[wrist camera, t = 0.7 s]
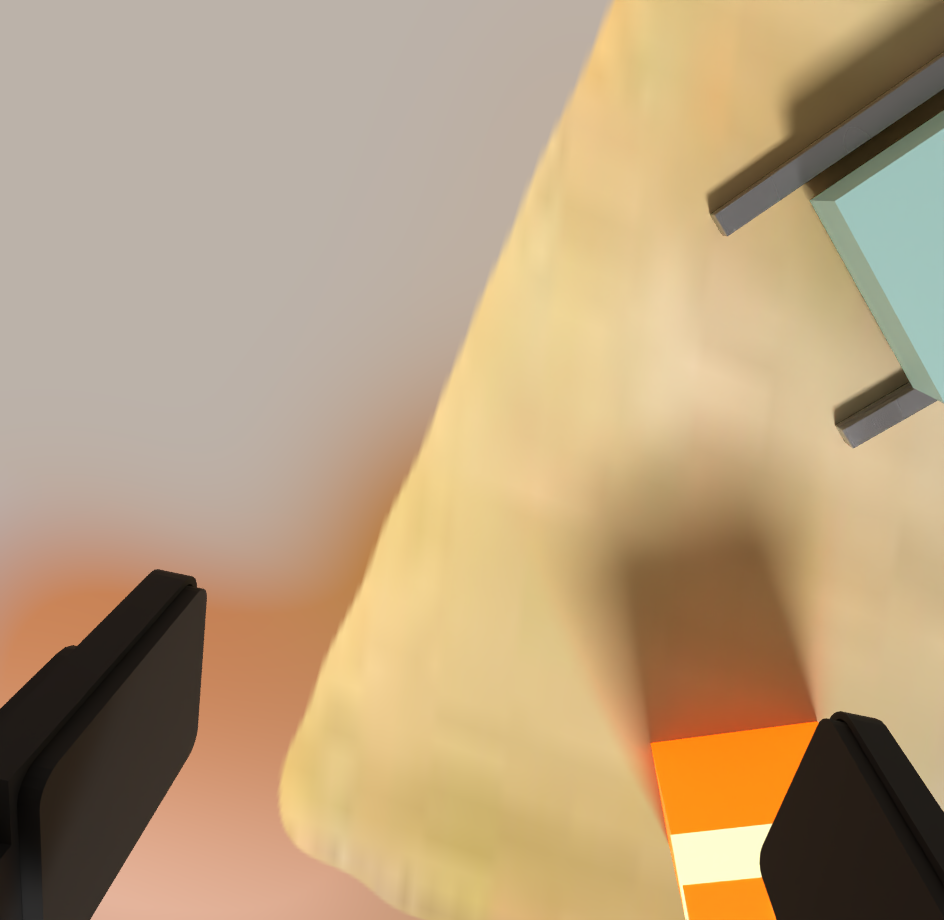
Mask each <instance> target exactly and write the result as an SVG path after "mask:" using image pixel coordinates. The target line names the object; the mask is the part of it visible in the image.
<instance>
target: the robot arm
mask: <svg viewBox="0 0 944 920" xmlns="http://www.w3.org/2000/svg"><path fill="white" fill-rule="evenodd" d="M206 602H207V594H206V590H204V589H201V588H197V583H196V579H195V578H194V577H192V576H187V575H183V574H178V573H173V572H168V571H164V570H159V569H157V570H154V571H152V572H151V573H150V574H149V575H148V576H147V577H146V578H145V579H144V580H143V581H142V582H141V583H140V584H139V585H138V586H137V587H136V588H135V589H134V590H133V591H132V592H131V593H130V594H129V595H128V596H127V597H126V598H125V599H124V600H123V601H122V602H121V603H120V604H119V605H118V606H117V607H116V608H115V609H114V610H113V611H112V612H111V613H110V614H109V615H108V616H107V617H106V618H105V619H104V620H103V621H102V622H101V623H100V624H99V625H98V626H97V627H96V628H95V629H94V630H93V631H92V632H91V633H90V634H89V635H88V636H87V637H86V638H85V639H84V640H83V641H82V642H81V643H80V644H79V645H78V646H74V645H73V646H68V647H65V648H64V649H62V650H61V651H60V652H58V653H57V654H56V655H55V656H54V657H53V658H52V659H51V660H50V661H49V662H48V663H47V664H46V665H45V666H44V667H43V668H42V669H41V670H40V671H39V672H37V674H36V675H35V676H33V678H31V679H30V680H29V681H28V682H27V683H26V684H25V685H24V686H23V687H22V688H21V689H20V690H19V691H18V692H17V693H16V694H15V695H14V696H13V697H12V698H11V699H10V700H9V701H8V702H7V703H6V704H5V705H4V706H3V707H2V708H1V709H0V920H90V919H91V917H92V916H93V914H94V912H95V911H96V909H97V907H98V906H99V904H100V902H101V901H102V899H103V897H104V896H105V894H106V892H107V891H108V889H109V887H110V886H111V884H112V882H113V881H114V879H115V878H116V876H117V874H118V873H119V871H120V869H121V867H122V866H123V864H124V863H125V861H126V859H127V858H128V856H129V854H130V853H131V851H132V849H133V848H134V846H135V844H136V843H137V841H138V839H139V838H140V836H141V834H142V833H143V831H144V830H145V828H146V826H147V824H148V823H149V821H150V819H151V818H152V816H153V815H154V813H155V811H156V810H157V808H158V806H159V805H160V803H161V801H162V800H163V798H164V796H165V795H166V793H167V791H168V790H169V788H170V786H171V785H172V783H173V781H174V780H175V778H176V777H177V775H178V773H179V772H180V770H181V768H182V767H183V765H184V763H185V762H186V760H187V758H188V757H189V754H190V753H191V751H192V748H193V746H194V742H195V740H196V736H197V730H198V716H199V703H200V687H201V673H202V659H203V644H204V630H205V615H206ZM759 865H760V872H761V876H762V879H763V882H764V885H765V888H766V891H767V894H768V897H769V900H770V903H771V906H772V909H773V912H774V914H775V917H776V920H944V812H943V811H942V809H941V808H940V806H939V805H938V803H937V802H936V800H935V799H934V797H933V796H932V794H931V793H930V791H929V790H928V788H927V787H926V785H925V784H924V782H923V781H922V779H921V778H920V776H919V775H918V773H917V772H916V770H915V769H914V767H913V766H912V764H911V763H910V761H909V760H908V758H907V757H906V755H905V754H904V752H903V751H902V749H901V748H900V746H899V745H898V743H897V742H896V740H895V739H894V737H893V736H892V734H891V733H890V731H889V730H888V729H887V727H886V726H885V725H884V723H883V722H882V721H880V720H878V719H875V718H870V717H866V716H861V715H856V714H851V713H846V712H842V711H840V712H836V713H834V714H833V715H832V716H831V717H830V719H827V718H826V719H822V720H821V721H820V722H819V724H818V725H817V727H816V729H815V731H814V734H813V736H812V738H811V740H810V742H809V745H808V747H807V749H806V751H805V753H804V755H803V758H802V760H801V762H800V764H799V766H798V769H797V771H796V773H795V775H794V777H793V779H792V782H791V784H790V786H789V788H788V790H787V793H786V795H785V797H784V799H783V801H782V804H781V806H780V808H779V810H778V812H777V814H776V817H775V819H774V821H773V823H772V825H771V828H770V830H769V832H768V834H767V836H766V838H765V841H764V843H763V845H762V848H761V851H760V860H759Z"/></svg>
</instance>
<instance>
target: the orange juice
mask: <svg viewBox="0 0 944 920" xmlns="http://www.w3.org/2000/svg"><path fill="white" fill-rule="evenodd" d="M817 725H818V722H817V721H816V722H809V723H801V724H793V725H786V726H778V727H770V728H763V729H755V730H747V731H740V732H732V733H724V734H717V735H709V736H701V737H693V738H686V739H678V740H670V741H663V742H655V743H651V748H652V754H653V759H654V764H655V770H656V775H657V781H658V786H659V792H660V797H661V802H662V808H663V813H664V819H665V824H666V830H667V835H668V841H669V846H670V851H671V855H672V860H673V864H674V869H675V874H676V878H677V883H678V887H679V892H680V897H681V901H682V906H683V910H684V915H685V919H686V920H776V917H775V914H774V912H773V909H772V906H771V903H770V900H769V897H768V894H767V891H766V888H765V885H764V882H763V879H762V876H761V872H760V865H759V860H760V851H761V848H762V845H763V843H764V841H765V838H766V836H767V834H768V832H769V830H770V828H771V825H772V823H773V821H774V819H775V817H776V814H777V812H778V810H779V808H780V806H781V804H782V801H783V799H784V797H785V795H786V793H787V790H788V788H789V786H790V784H791V782H792V779H793V777H794V775H795V773H796V771H797V769H798V766H799V764H800V762H801V760H802V758H803V755H804V753H805V751H806V749H807V747H808V745H809V742H810V740H811V738H812V736H813V734H814V731H815V729H816V727H817Z"/></svg>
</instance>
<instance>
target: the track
mask: <svg viewBox="0 0 944 920" xmlns="http://www.w3.org/2000/svg"><path fill="white" fill-rule="evenodd" d="M943 89H944V52H943V53H941V54H940V55H939V56H937V57H936V58H934V59H933V60H931V61H930V62H928V63H927V64H926V65H924V66H923V67H921V68H920V69H918V70H917V71H916V72H914V73H913V74H911V75H910V76H908V77H907V78H905V79H904V80H903V81H901V82H900V83H898V84H897V85H895V86H894V87H893V88H891V89H890V90H888V91H887V92H885V93H884V94H882V95H881V96H880V97H878V98H877V99H875V100H874V101H872V102H871V103H870V104H868V105H867V106H865V107H864V108H862V109H861V110H859V111H858V112H857V113H855V114H854V115H852V116H851V117H849V118H848V119H847V120H845V121H844V122H842V123H841V124H839V125H838V126H837V127H835V128H834V129H832V130H831V131H829V132H828V133H826V134H825V135H824V136H822V137H821V138H819V139H818V140H816V141H815V142H814V143H812V144H811V145H809V146H808V147H806V148H805V149H803V150H802V151H801V152H799V153H798V154H796V155H795V156H793V157H792V158H791V159H789V160H788V161H786V162H785V163H783V164H782V165H780V166H779V167H778V168H776V169H775V170H773V171H772V172H770V173H769V174H768V175H766V176H765V177H763V178H762V179H760V180H759V181H757V182H756V183H755V184H753V185H752V186H750V187H749V188H747V189H746V190H745V191H743V192H742V193H740V194H739V195H737V196H736V197H734V198H733V199H732V200H730V201H729V202H727V203H726V204H724V205H723V206H722V207H720V208H719V209H717V210H716V211H714V212H713V213H712V214H710V215H711V217H712V219H713V220H714V222H715V224H716V225H717V227H718V229H719V231H720V232H721V234H722V235H723V236H729V235H730V234H732V233H733V232H734V231H736V230H737V229H739V228H740V227H742V226H743V225H745V224H746V223H748V222H749V221H751V220H752V219H753V218H755V217H756V216H758V215H759V214H761V213H762V212H764V211H765V210H767V209H768V208H770V207H771V206H773V205H774V204H775V203H777V202H778V201H780V200H781V199H783V198H784V197H786V196H787V195H789V194H790V193H792V192H793V191H795V190H796V189H797V188H799V187H800V186H802V185H803V184H805V183H806V182H808V181H809V180H811V179H812V178H814V177H815V176H817V175H818V174H819V173H821V172H822V171H824V170H825V169H827V168H828V167H830V166H831V165H833V164H834V163H836V162H837V161H838V160H840V159H841V158H843V157H844V156H846V155H847V154H849V153H850V152H852V151H853V150H855V149H856V148H858V147H859V146H860V145H862V144H863V143H865V142H866V141H868V140H869V139H871V138H872V137H874V136H875V135H877V134H878V133H880V132H881V131H882V130H884V129H885V128H887V127H888V126H890V125H891V124H893V123H894V122H896V121H897V120H899V119H900V118H901V117H903V116H904V115H906V114H907V113H909V112H910V111H912V110H913V109H915V108H916V107H918V106H919V105H921V104H922V103H923V102H925V101H926V100H928V99H929V98H931V97H932V96H934V95H935V94H937V93H938V92H940V91H941V90H943ZM936 401H938V400H936V399H934V398H932V397H930V396H928V395H926V394H924V393H922V392H920V391H918V390H916V389H914V388H913V387H912V385H911V383H910V382H909V383H907V384H905V385H903V386H902V387H900V388H898V389H897V390H895V391H893V392H891V393H890V394H888V395H886V396H884V397H883V398H881V399H879V400H878V401H876V402H874V403H872V404H871V405H869V406H867V407H866V408H864V409H862V410H860V411H859V412H857V413H855V414H854V415H852V416H850V417H848V418H847V419H845V420H843V421H841V422H840V423H838V424H836V425H835V426H836V427H837V429H838V431H839V432H840V434H841V436H842V438H843V439H844V441H845V443H847V444H848V445H849V446H850V447H852V448H855V447H857V446H858V445H860V444H862V443H864V442H865V441H867V440H869V439H871V438H872V437H874V436H876V435H878V434H879V433H881V432H883V431H885V430H887V429H888V428H890V427H892V426H894V425H895V424H897V423H899V422H901V421H902V420H904V419H906V418H908V417H909V416H911V415H913V414H915V413H916V412H918V411H920V410H922V409H923V408H925V407H927V406H929V405H930V404H932V403H934V402H936Z"/></svg>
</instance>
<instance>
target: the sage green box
mask: <svg viewBox="0 0 944 920" xmlns="http://www.w3.org/2000/svg"><path fill="white" fill-rule="evenodd" d="M810 202H811V204H812V206H813V207H814V209H815V211H816V213H817V215H818V216H819V218H820V220H821V222H822V224H823V226H824V227H825V229H826V231H827V233H828V235H829V236H830V238H831V240H832V242H833V244H834V245H835V247H836V249H837V251H838V253H839V255H840V256H841V258H842V260H843V262H844V264H845V265H846V267H847V269H848V271H849V273H850V274H851V276H852V278H853V280H854V282H855V284H856V285H857V287H858V289H859V291H860V293H861V294H862V296H863V298H864V300H865V302H866V303H867V305H868V307H869V309H870V311H871V312H872V314H873V316H874V318H875V320H876V322H877V323H878V325H879V327H880V329H881V331H882V332H883V334H884V336H885V338H886V340H887V341H888V343H889V345H890V347H891V349H892V351H893V352H894V354H895V356H896V358H897V360H898V361H899V363H900V365H901V367H902V369H903V370H904V372H905V374H906V376H907V378H908V380H909V381H910V383H911V385H912V387H913V388H914V389H916V390H918V391H920V392H922V393H924V394H926V395H928V396H930V397H932V398H934V399H936V400H938V401H940V402H942V403H944V110H943V111H942V112H940V113H939V114H937V115H936V116H934V117H933V118H931V119H930V120H928V121H927V122H925V123H924V124H922V125H921V126H920V127H918V128H917V129H915V130H914V131H912V132H911V133H909V134H908V135H906V136H905V137H903V138H902V139H900V140H899V141H897V142H896V143H894V144H893V145H891V146H890V147H888V148H887V149H885V150H884V151H882V152H881V153H879V154H878V155H877V156H875V157H874V158H872V159H871V160H869V161H868V162H866V163H865V164H863V165H862V166H860V167H859V168H857V169H856V170H854V171H853V172H851V173H850V174H848V175H847V176H845V177H844V178H842V179H841V180H839V181H838V182H837V183H835V184H834V185H832V186H831V187H829V188H828V189H826V190H825V191H823V192H822V193H820V194H819V195H817V196H816V197H814V198H813V199H811V200H810Z"/></svg>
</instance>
